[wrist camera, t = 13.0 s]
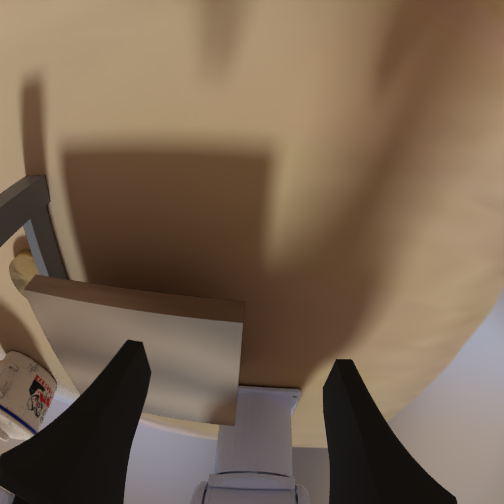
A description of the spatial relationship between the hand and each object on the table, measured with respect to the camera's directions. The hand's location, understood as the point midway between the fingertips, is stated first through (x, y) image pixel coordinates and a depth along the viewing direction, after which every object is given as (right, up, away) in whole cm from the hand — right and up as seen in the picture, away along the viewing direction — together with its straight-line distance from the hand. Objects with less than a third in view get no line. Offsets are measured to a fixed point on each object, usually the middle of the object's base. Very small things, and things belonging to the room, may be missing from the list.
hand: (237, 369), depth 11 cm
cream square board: (-6, 0, +12) cm, 13 cm away
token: (-18, +3, +11) cm, 21 cm away
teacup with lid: (-29, -10, +20) cm, 37 cm away
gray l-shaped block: (-15, +5, +9) cm, 18 cm away
